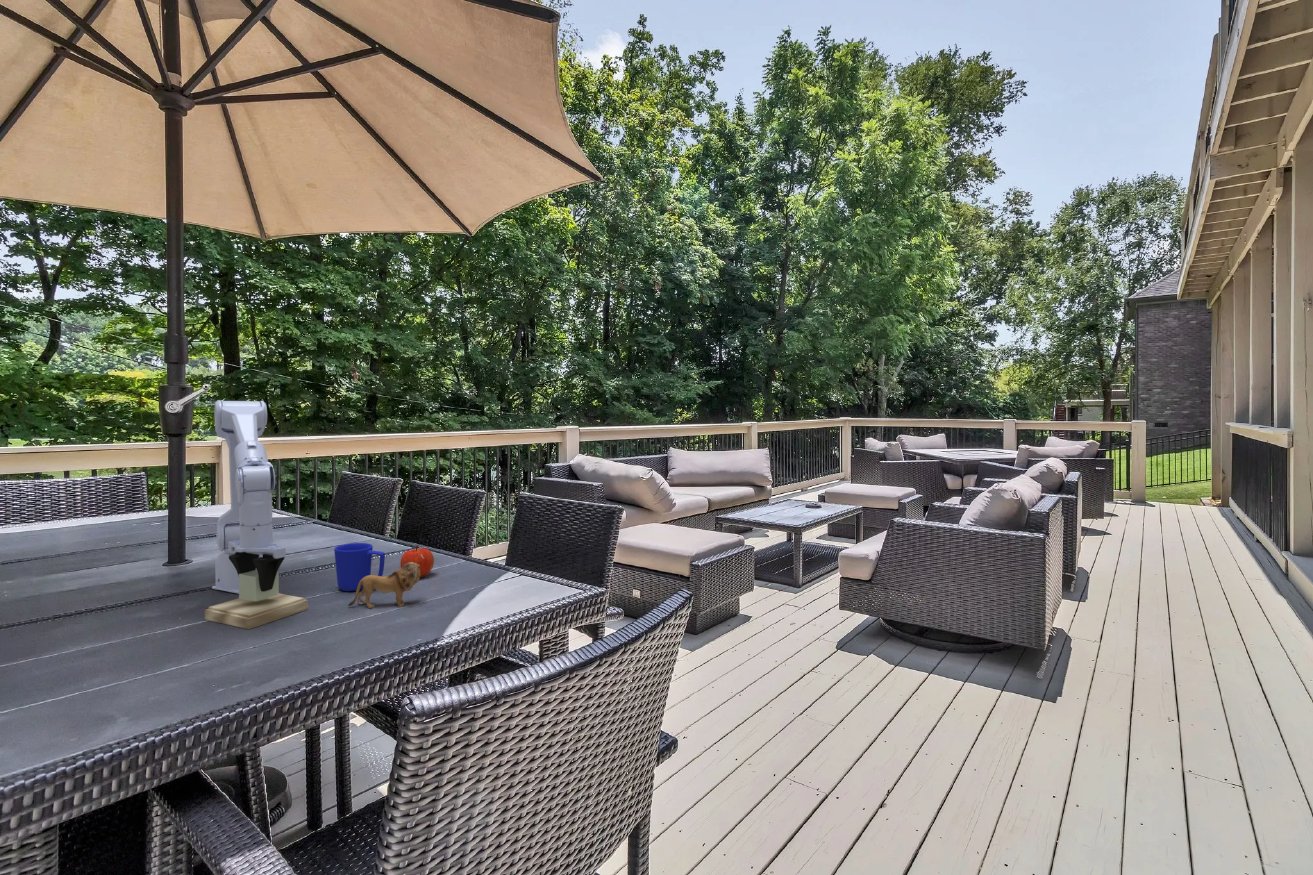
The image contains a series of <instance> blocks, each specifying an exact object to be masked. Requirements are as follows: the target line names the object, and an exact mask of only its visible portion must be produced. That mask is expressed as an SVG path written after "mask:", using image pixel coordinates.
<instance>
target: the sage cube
mask: <svg viewBox="0 0 1313 875" xmlns="http://www.w3.org/2000/svg"><path fill="white" fill-rule="evenodd" d="M279 574H280V573H279V570H278V571H277V574H276V577H275V581H274V585H273V588H272V589H271V590H268V591H264V592H262V591H261V589H260V585H259V576H258V572H257V570H254V571H250V572H246V573H242V574H239V593H238V598H241V599H246V600H251V601H259V600H263V599H266V598H269V597H273V596H276V595H279V593H280V592H279V590H280V589H279V587H280V586H279V585H280V581H279V576H280V575H279Z"/></svg>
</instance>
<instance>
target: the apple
mask: <svg viewBox="0 0 1313 875" xmlns="http://www.w3.org/2000/svg"><path fill="white" fill-rule="evenodd" d="M399 562H400V568H402V567H403V566H404V565H405V564H407V563H409V562H414V563H417V565H420V568H419V569H420V578H423V577H425V576H427V575H428V574H429V573H430V572H431V571H432V569H433V568H434V565H435V564H434V563H435V558H434V554H433V552H431V550H430V549H428V548H426V547H425V548H424V547H423V548H418V545H415V548H414V549H409V550H407V551H405V552H404V553H403V554H402V556H401V558H400V561H399Z"/></svg>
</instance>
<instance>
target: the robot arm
mask: <svg viewBox="0 0 1313 875" xmlns="http://www.w3.org/2000/svg"><path fill="white" fill-rule="evenodd" d="M213 413H214V425H215V426H214V432H215V433H216V436H217V437H219V438H221V439H224V440H225V442H226V445H227V448H228V464H229V466H228V468H229V489H230V490H229V492H230V509H228V510H227V511H226V512H224V513H223V514H222V515H220V516H218V520H217V521H216V522H217V523H216V524H217V526H216V544H217V546H216V547H217V549H218V550H219V551H220V552H219V553H218V555H217V556H216V558H215V560H214V562H215V563H214V565H215V566H214V570H215V571H214V572H215V573H214V574H215V575H214V576H215V585H213V586H211V589H213V590H217V591H218V590H219V591H223V592H228V593H233V594H239V574H242V573H246V572H250V571H254V570H257V572H258V576H259V585H260V589H261V591H262V592H264V591H268V590H271V589H272V588H273V585H274V581H275V577H276V574H277V571H279V569H280V567H281V565H282V563H283V562H284V561H285V557H286V556H287V555H286V554H287V552H286V549H287V548H286V547H285V546H281V545H279V544H278V543H275V542H273V538H274V537H273V534H274V533H273V493H274V492H275V487H276V473H275V470H274V466H273V464H272V463H271V461H270V462H269V459H268V454H267V451H266V450H267V449H266V447H265V445H264V444H263V443H262V442H260V441H259V437H261V436H262V435H263V433H264V432H265V429H266V425H267V423H268V409H267V403H266V402H264V400H260V401H258V400H257V401H253V400H252V401H249V400H219V399H217V400H216V401H215V402H214V412H213ZM237 521H238V522H237ZM231 522H233V523H231Z"/></svg>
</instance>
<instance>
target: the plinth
mask: <svg viewBox="0 0 1313 875" xmlns="http://www.w3.org/2000/svg"><path fill="white" fill-rule="evenodd" d="M307 610H309V600H308V599H305V597H301V596H299V597H298V596H296V595H295V596H294V595H289V594H284V593H280V592H279V595H276V596H273V597H269V598H266V599H263V600H259V601H251V600H246V599H241V598H239V597H238V598H235V599H231V600H229V601H224V602H221V603H218V604H214V605H210V606H208V608H206V609H204V620H205V621H209V622H214V623H219V624H224V625H228V626H232V627H238V628H240V629H241V628H242V629H245V630H246V629H247V630H251V629H254V628H257V627H260V626H263V625H266V624H269V623H271V622H275V621H277V620H281V619H284V618H287V617H289V616H292V615H296V614H299V613H301V612H304V611H307Z"/></svg>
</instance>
